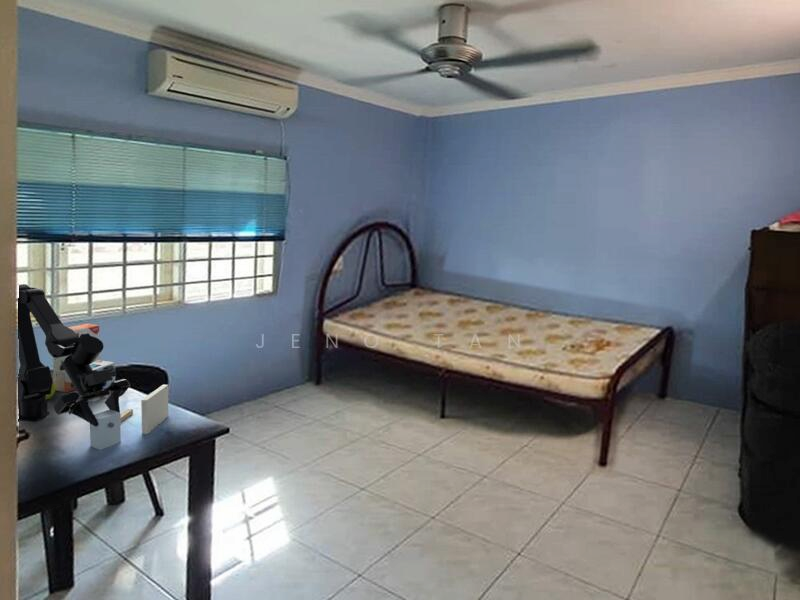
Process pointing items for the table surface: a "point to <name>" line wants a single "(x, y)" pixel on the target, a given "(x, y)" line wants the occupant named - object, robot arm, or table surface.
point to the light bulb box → (99, 366)
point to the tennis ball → (51, 392)
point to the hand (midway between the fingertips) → (108, 422)
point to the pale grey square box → (105, 430)
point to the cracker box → (62, 377)
